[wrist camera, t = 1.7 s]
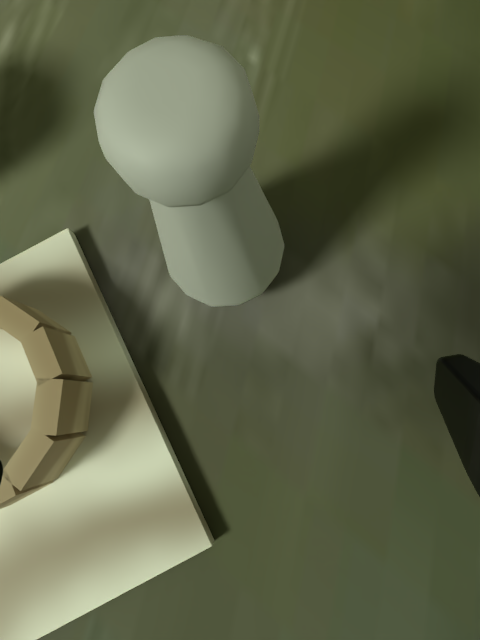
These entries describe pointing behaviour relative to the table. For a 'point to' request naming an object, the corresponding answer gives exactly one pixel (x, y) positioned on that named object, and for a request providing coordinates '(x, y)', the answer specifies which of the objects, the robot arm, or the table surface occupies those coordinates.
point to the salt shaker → (193, 164)
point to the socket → (78, 452)
